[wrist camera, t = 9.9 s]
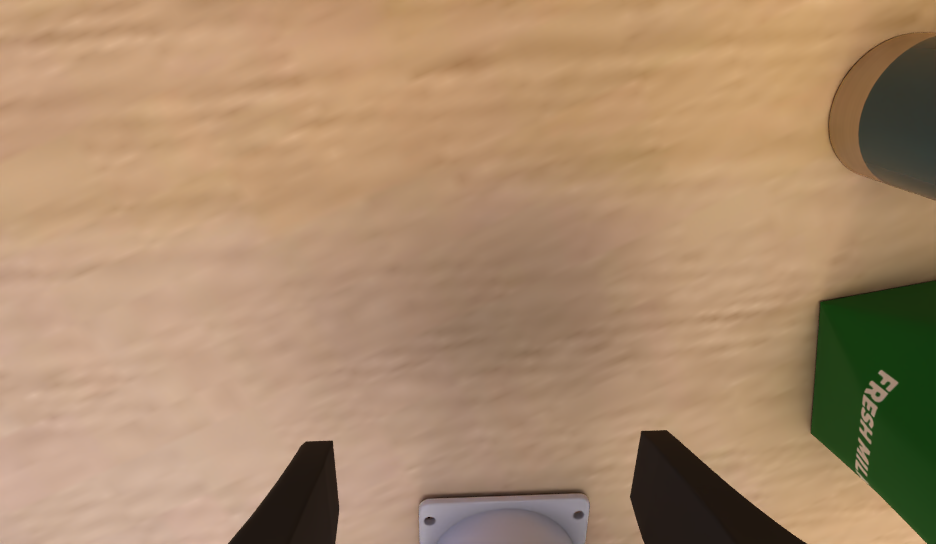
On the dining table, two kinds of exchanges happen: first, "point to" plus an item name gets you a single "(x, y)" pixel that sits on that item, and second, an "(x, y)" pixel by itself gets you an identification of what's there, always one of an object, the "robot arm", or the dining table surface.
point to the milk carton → (882, 395)
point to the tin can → (890, 115)
